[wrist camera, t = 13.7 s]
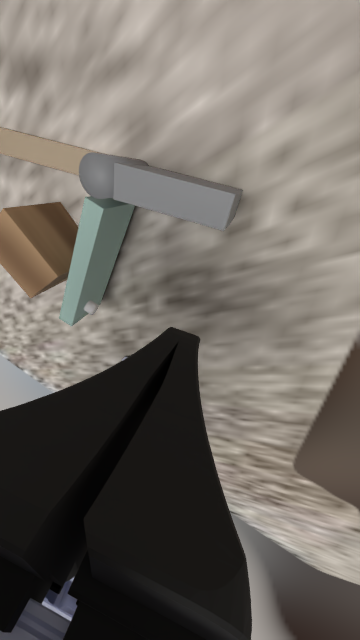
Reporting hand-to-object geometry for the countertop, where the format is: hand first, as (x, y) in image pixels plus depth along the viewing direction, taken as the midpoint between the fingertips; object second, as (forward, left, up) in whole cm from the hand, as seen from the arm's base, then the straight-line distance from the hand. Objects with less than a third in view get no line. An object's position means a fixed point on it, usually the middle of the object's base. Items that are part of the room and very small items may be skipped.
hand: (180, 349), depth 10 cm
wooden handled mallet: (+5, +10, -9) cm, 15 cm away
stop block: (-1, +13, -10) cm, 16 cm away
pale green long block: (-1, +9, -9) cm, 13 cm away
